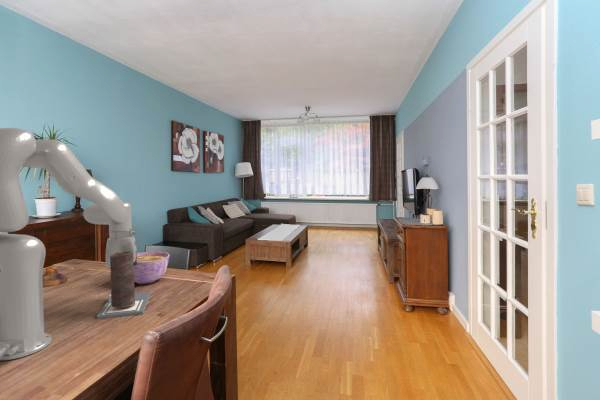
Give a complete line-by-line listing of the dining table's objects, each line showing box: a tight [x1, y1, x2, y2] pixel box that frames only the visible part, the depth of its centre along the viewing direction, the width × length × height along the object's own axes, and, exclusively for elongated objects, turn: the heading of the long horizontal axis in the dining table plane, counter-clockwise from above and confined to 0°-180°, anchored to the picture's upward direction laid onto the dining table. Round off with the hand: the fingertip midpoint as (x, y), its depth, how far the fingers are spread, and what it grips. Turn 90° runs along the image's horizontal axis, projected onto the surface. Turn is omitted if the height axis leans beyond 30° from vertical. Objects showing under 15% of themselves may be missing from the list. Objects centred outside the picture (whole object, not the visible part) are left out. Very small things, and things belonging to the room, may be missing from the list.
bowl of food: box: [134, 251, 170, 285], centre depth 141 cm, size 20×20×12 cm
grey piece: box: [96, 290, 152, 320], centre depth 114 cm, size 20×14×4 cm
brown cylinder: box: [109, 251, 136, 308], centre depth 109 cm, size 8×7×20 cm
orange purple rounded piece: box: [42, 266, 68, 288], centre depth 137 cm, size 12×12×7 cm
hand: (122, 281), depth 118 cm, fingers closed
